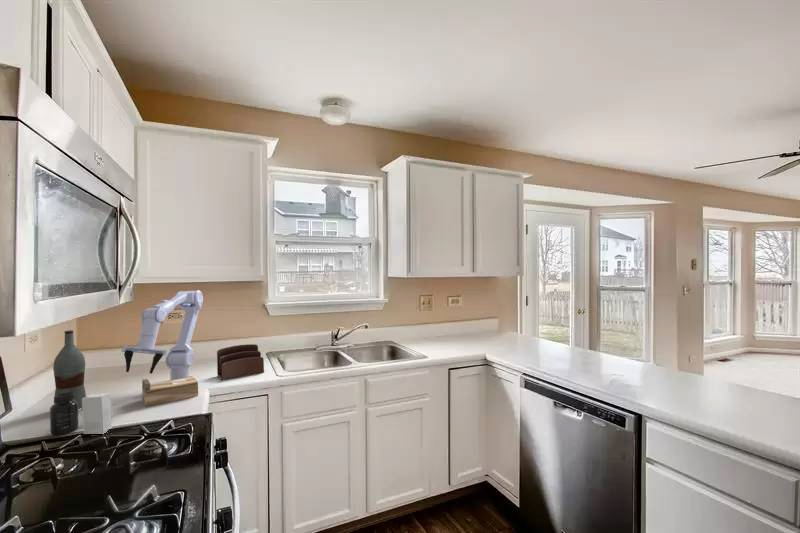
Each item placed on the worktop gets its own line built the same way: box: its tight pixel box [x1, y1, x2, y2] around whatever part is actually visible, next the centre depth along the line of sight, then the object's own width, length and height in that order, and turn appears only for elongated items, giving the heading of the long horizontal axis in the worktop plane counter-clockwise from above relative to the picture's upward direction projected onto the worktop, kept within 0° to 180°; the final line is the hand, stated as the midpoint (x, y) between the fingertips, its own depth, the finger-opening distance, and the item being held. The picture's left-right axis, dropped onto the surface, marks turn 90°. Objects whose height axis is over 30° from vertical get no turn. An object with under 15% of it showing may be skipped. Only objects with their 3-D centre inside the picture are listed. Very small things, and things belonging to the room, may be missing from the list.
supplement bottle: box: [49, 392, 79, 436], centre depth 122 cm, size 7×7×12 cm
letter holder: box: [216, 343, 265, 381], centre depth 187 cm, size 10×20×14 cm, turn 128°
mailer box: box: [141, 382, 199, 407], centre depth 153 cm, size 11×18×5 cm, turn 131°
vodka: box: [52, 329, 87, 410], centre depth 143 cm, size 9×9×30 cm
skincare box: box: [81, 392, 113, 435], centre depth 119 cm, size 6×4×12 cm
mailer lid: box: [141, 375, 199, 393], centre depth 153 cm, size 11×18×3 cm, turn 131°
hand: (139, 372), depth 143 cm, fingers open, 7 cm apart
